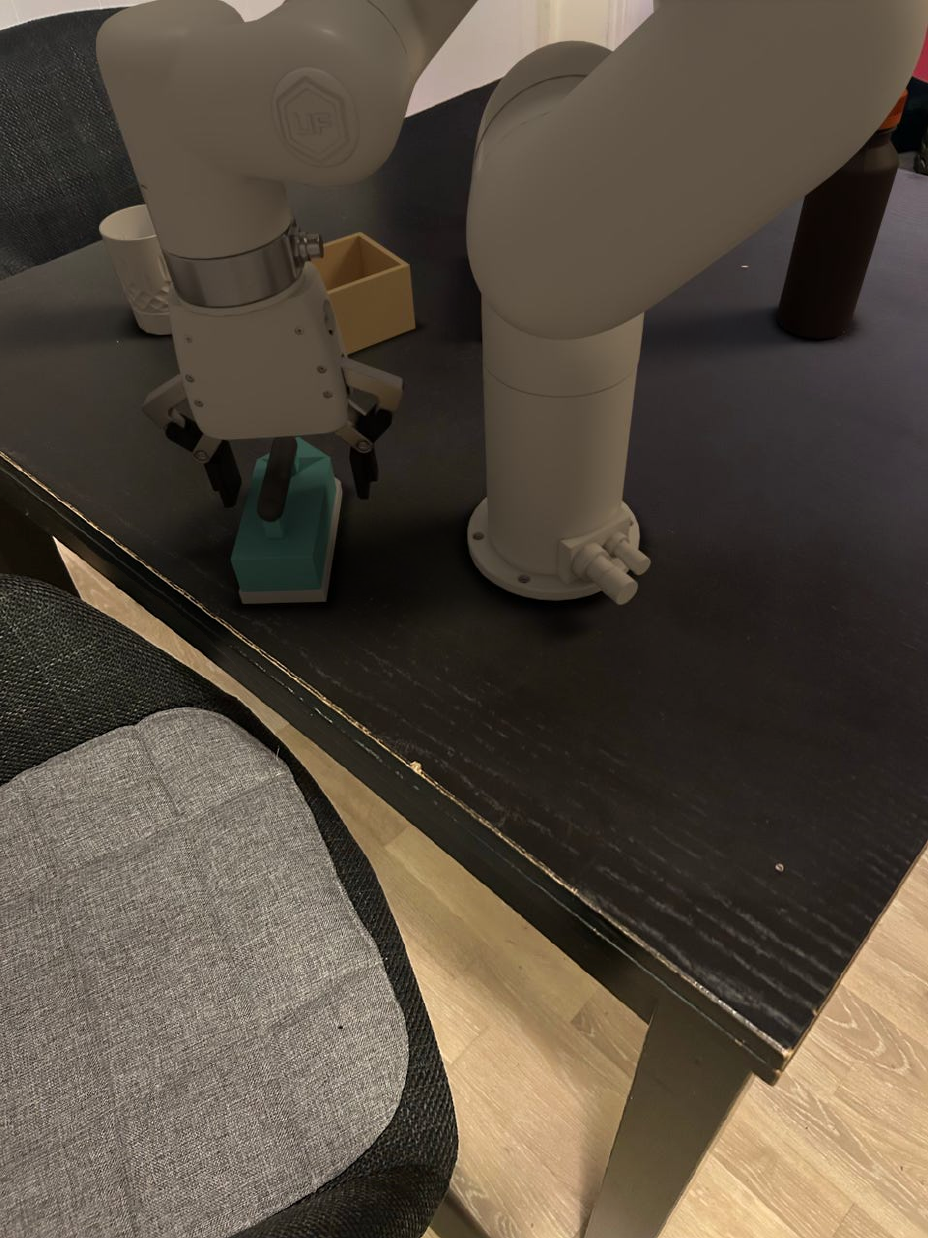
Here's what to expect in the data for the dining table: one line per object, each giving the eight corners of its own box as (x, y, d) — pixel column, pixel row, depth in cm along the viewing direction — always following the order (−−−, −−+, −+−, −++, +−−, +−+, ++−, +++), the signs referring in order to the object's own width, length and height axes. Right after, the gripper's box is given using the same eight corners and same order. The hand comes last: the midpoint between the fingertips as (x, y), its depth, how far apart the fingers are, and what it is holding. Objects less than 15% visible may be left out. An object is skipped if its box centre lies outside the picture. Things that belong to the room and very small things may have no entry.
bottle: (784, 299, 87) (838, 71, 72) (855, 311, 85) (926, 79, 70) (768, 332, 83) (822, 98, 68) (842, 346, 81) (915, 108, 66)
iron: (326, 601, 62) (307, 522, 56) (242, 604, 62) (215, 525, 57) (346, 469, 72) (332, 390, 66) (274, 471, 72) (253, 393, 67)
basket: (415, 328, 87) (409, 264, 82) (297, 374, 82) (283, 309, 77) (368, 292, 92) (360, 231, 87) (254, 334, 87) (239, 271, 82)
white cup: (117, 331, 89) (81, 233, 81) (162, 295, 94) (132, 199, 86) (182, 344, 87) (151, 244, 79) (225, 305, 91) (199, 208, 84)
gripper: (387, 221, 53) (420, 452, 65) (107, 243, 54) (193, 466, 66) (378, 281, 47) (416, 519, 60) (69, 304, 49) (170, 533, 61)
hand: (299, 491), depth 63 cm, fingers open, 9 cm apart
